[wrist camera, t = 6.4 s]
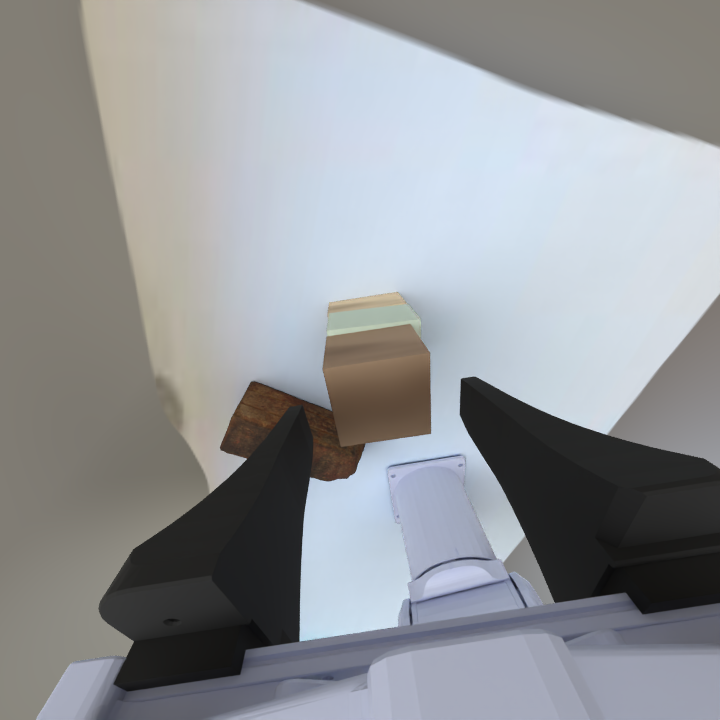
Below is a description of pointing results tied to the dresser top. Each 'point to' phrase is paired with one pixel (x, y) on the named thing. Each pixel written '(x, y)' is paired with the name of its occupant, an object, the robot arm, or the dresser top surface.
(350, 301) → the oak block
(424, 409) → the walnut block
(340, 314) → the sage block
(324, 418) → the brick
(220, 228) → the dresser top surface
